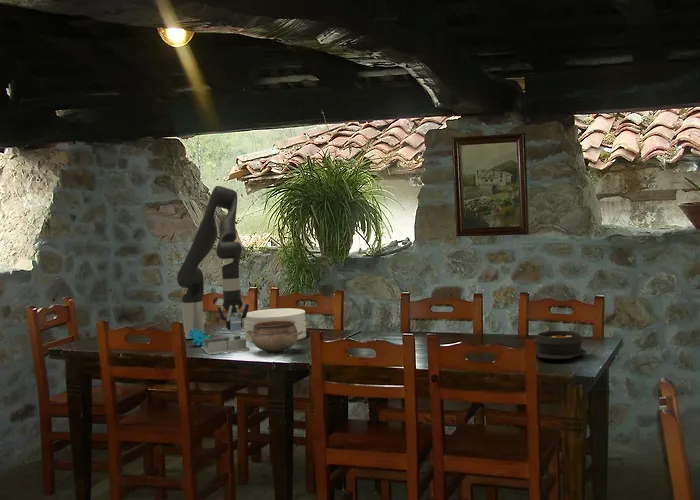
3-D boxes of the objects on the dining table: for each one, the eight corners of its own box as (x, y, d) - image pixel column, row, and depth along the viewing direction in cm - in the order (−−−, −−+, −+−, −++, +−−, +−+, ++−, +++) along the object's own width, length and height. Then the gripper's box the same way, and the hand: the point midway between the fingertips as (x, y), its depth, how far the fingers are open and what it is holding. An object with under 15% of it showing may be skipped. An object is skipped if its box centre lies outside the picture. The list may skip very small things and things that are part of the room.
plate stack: (268, 345, 333) (266, 319, 332) (233, 339, 354) (231, 314, 353) (318, 336, 351) (317, 311, 350) (282, 330, 372) (281, 306, 371)
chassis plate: (201, 349, 330) (200, 338, 330) (240, 345, 336) (239, 334, 336) (208, 355, 315) (208, 344, 315) (249, 350, 321) (248, 339, 321)
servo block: (226, 328, 332) (225, 316, 332) (235, 327, 333) (234, 315, 333) (232, 331, 322) (231, 319, 321) (241, 330, 323) (241, 318, 323)
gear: (194, 345, 332) (186, 327, 337) (188, 353, 335) (180, 336, 340) (215, 344, 340) (207, 327, 345) (209, 353, 343) (200, 335, 348)
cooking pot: (312, 348, 320) (311, 319, 319) (294, 357, 302) (293, 326, 301) (258, 347, 328) (256, 319, 327) (237, 356, 310) (235, 326, 309)
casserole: (580, 365, 264) (579, 341, 264) (526, 362, 273) (525, 339, 272) (591, 351, 287) (590, 328, 286) (540, 349, 295) (539, 327, 295)
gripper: (245, 286, 332) (248, 326, 333) (213, 289, 327) (215, 330, 327) (250, 288, 325) (252, 328, 326) (216, 291, 320) (219, 332, 321)
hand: (234, 329), depth 327 cm, fingers closed on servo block, 4 cm apart
